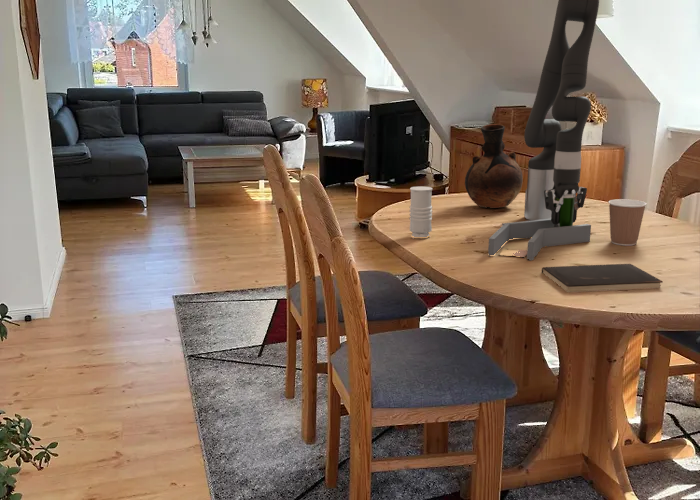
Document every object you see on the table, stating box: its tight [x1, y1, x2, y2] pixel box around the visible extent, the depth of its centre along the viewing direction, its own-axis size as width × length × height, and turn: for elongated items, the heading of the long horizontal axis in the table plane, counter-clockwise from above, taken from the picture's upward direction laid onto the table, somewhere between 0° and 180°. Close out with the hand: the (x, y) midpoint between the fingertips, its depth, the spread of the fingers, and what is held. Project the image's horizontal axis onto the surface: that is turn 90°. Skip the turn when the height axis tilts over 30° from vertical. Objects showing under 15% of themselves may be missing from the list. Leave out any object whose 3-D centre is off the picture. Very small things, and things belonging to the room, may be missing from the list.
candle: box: [408, 186, 433, 237], centre depth 214 cm, size 7×7×15 cm
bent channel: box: [487, 219, 592, 261], centre depth 202 cm, size 23×36×5 cm, turn 111°
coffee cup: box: [608, 198, 647, 247], centre depth 205 cm, size 10×10×12 cm
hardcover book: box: [541, 263, 664, 293], centre depth 171 cm, size 16×23×2 cm
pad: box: [512, 249, 527, 258], centre depth 196 cm, size 7×7×1 cm
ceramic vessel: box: [464, 123, 524, 209], centre depth 255 cm, size 21×18×30 cm
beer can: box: [554, 193, 575, 227], centre depth 210 cm, size 5×5×12 cm
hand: (563, 222), depth 211 cm, fingers closed on beer can, 5 cm apart
